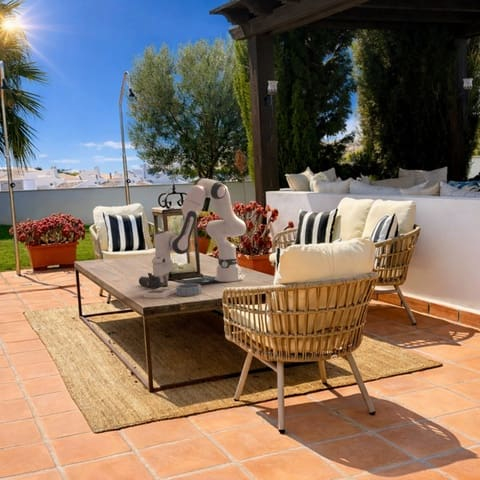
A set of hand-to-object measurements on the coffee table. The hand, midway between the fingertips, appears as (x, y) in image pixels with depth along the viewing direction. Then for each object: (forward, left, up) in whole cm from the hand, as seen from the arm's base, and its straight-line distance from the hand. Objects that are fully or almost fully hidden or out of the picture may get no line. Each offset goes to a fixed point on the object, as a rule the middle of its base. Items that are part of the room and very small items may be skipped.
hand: (164, 281), depth 370 cm
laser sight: (-15, -15, -7) cm, 22 cm away
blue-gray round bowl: (+3, +16, -7) cm, 18 cm away
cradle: (+5, 0, -7) cm, 8 cm away
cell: (0, 0, -3) cm, 3 cm away
